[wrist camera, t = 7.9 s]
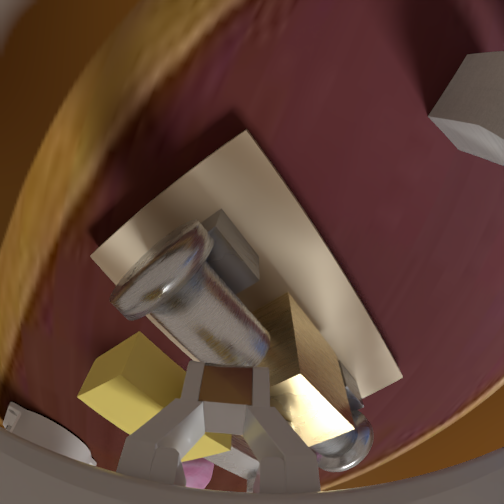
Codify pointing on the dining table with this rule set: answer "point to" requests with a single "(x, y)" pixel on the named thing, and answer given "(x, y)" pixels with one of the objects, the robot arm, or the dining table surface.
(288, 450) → the robot arm
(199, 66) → the dining table surface
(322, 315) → the valve assembly
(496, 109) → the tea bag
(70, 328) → the dining table surface
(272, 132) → the dining table surface
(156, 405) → the lever
